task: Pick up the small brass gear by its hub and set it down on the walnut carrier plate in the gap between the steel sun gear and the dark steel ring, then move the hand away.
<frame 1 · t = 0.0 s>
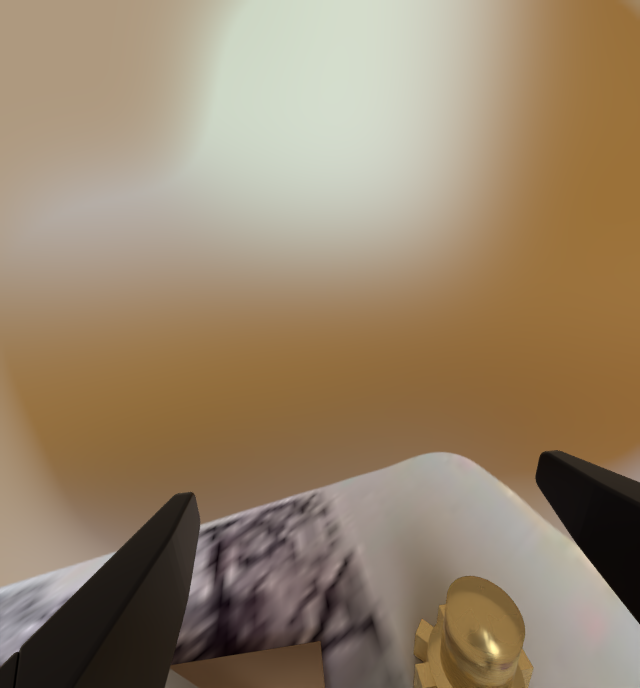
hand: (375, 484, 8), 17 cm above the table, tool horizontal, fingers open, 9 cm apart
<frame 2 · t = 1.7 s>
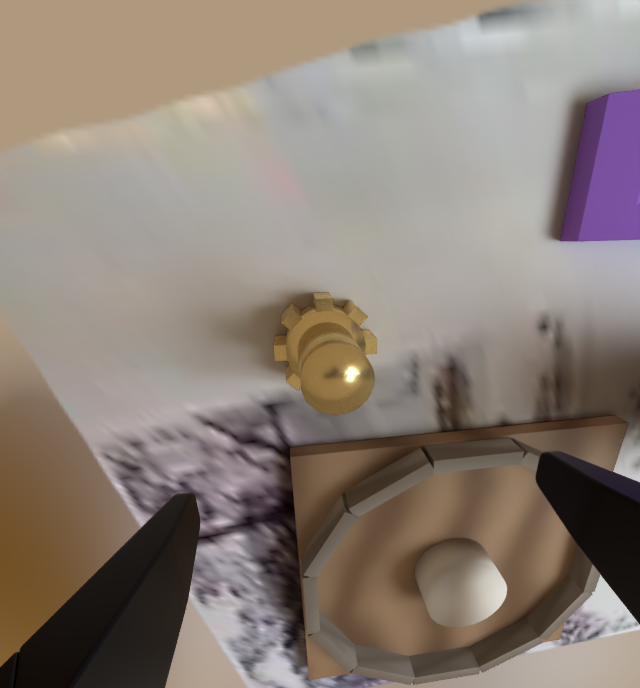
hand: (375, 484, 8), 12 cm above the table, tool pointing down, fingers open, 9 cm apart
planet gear: (322, 339, 19), on the table
carrier: (444, 554, 26), on the table
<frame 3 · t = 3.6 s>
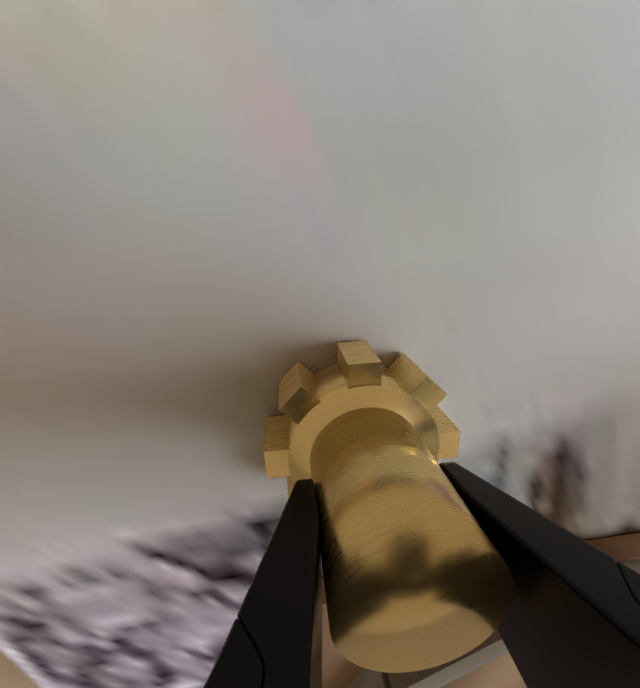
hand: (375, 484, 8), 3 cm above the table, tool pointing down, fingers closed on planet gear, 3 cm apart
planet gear: (351, 418, 11), on the table, touching gripper
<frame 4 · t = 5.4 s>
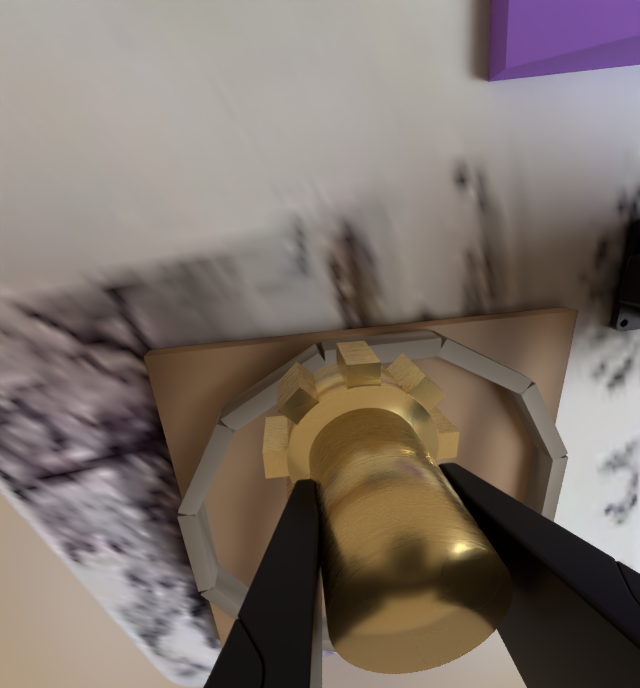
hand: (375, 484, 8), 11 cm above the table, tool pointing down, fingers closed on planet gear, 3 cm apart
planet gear: (350, 419, 11), point 8 cm above the table, touching gripper
carrier: (373, 493, 22), on the table
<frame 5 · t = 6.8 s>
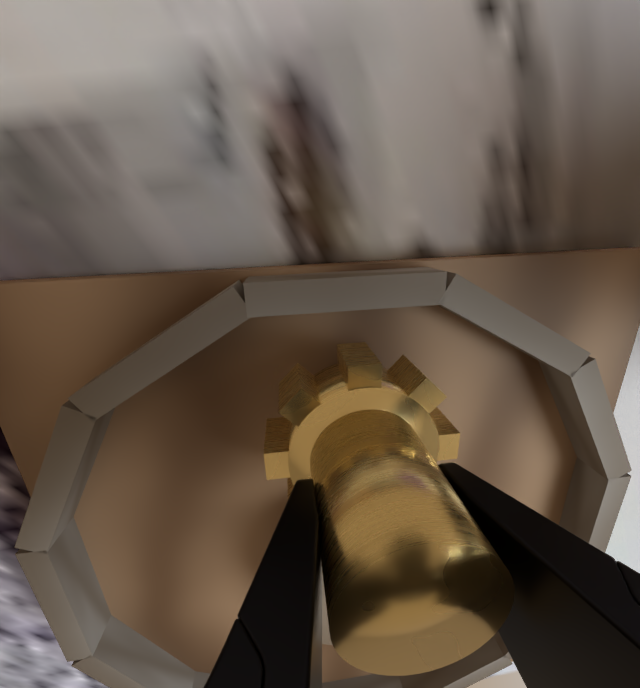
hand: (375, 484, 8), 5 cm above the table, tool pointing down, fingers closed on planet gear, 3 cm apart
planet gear: (351, 420, 11), point 2 cm above the table, touching gripper
carrier: (341, 517, 15), on the table
when the fingers open (5 cm above the table, at t = 7.5 s): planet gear stays where it is, resting on carrier.
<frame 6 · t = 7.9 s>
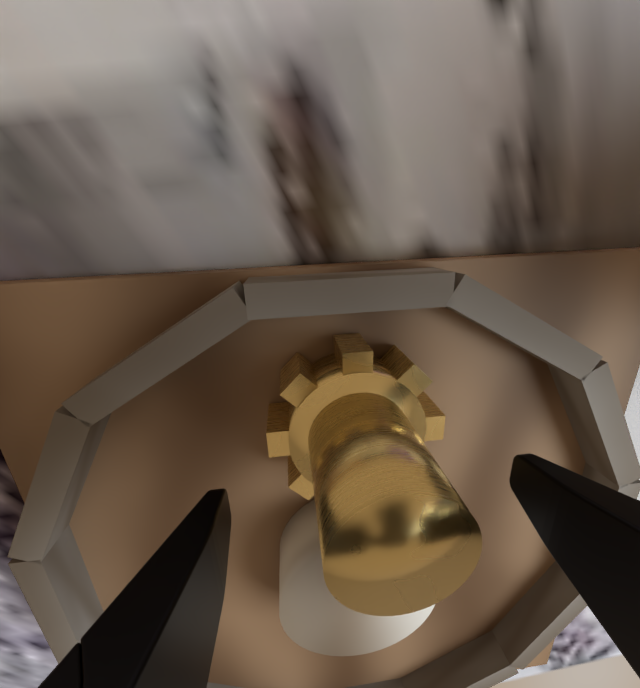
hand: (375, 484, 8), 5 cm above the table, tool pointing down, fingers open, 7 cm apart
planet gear: (346, 406, 12), point 1 cm above the table, touching carrier
carrier: (343, 523, 15), on the table
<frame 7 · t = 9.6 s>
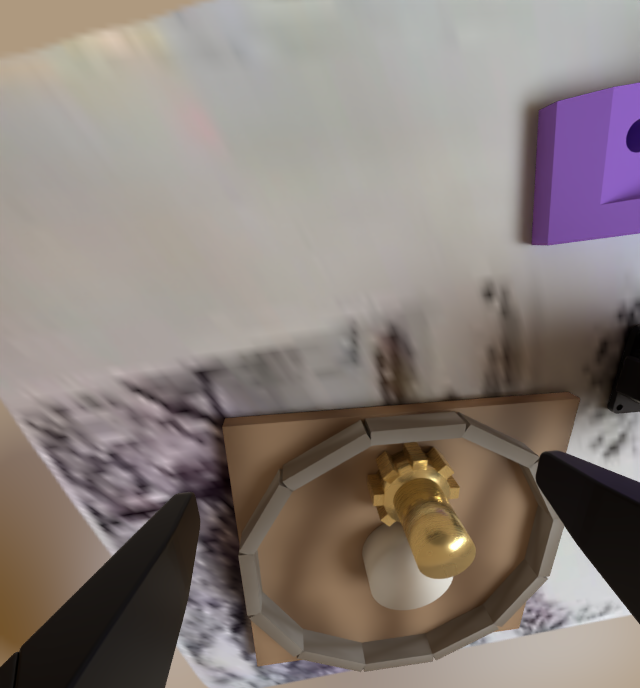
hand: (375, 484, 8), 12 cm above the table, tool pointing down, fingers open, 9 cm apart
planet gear: (406, 475, 22), point 1 cm above the table, touching carrier
bracket: (625, 166, 19), on the table
carrier: (396, 536, 26), on the table
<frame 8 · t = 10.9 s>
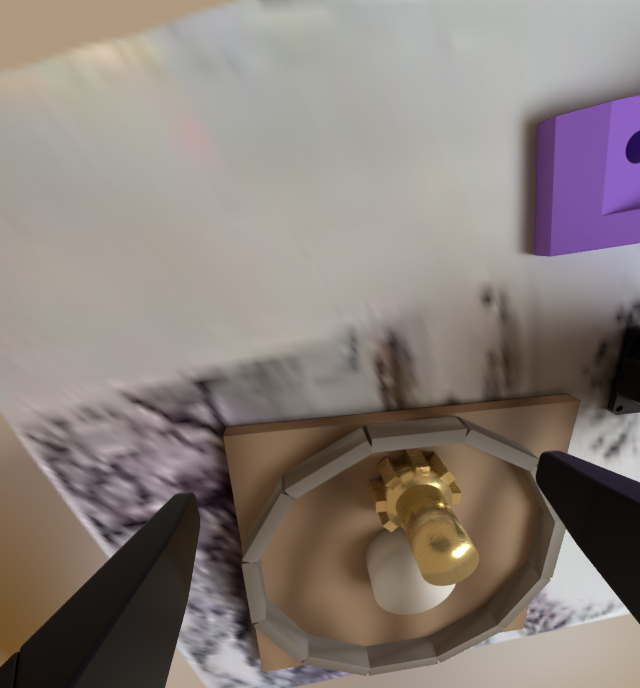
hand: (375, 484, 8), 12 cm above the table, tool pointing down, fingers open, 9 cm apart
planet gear: (408, 481, 22), point 1 cm above the table, touching carrier
bracket: (625, 173, 19), on the table
carrier: (398, 540, 26), on the table
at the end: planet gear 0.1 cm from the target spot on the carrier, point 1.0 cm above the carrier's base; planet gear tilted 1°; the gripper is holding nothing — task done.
